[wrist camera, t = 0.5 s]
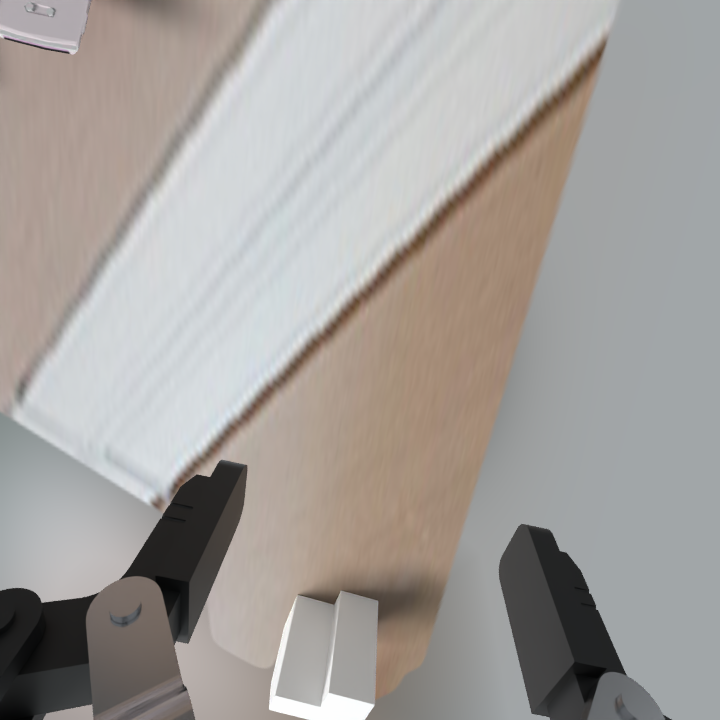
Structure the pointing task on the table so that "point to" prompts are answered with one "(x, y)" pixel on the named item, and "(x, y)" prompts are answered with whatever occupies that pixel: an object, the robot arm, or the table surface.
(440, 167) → the table surface
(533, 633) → the robot arm
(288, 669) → the corner bracket
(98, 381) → the table surface
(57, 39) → the mobile phone
